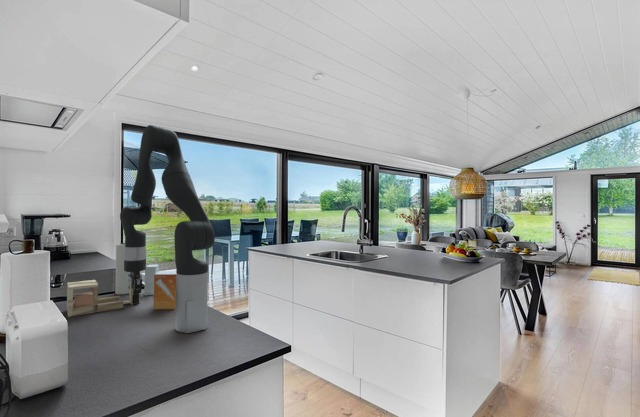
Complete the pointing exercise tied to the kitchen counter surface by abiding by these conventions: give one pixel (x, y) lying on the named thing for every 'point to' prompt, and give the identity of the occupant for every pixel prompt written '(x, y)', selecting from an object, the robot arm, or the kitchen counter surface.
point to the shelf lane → (98, 304)
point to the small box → (165, 290)
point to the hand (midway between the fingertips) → (134, 302)
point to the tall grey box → (121, 271)
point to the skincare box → (150, 279)
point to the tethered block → (87, 299)
